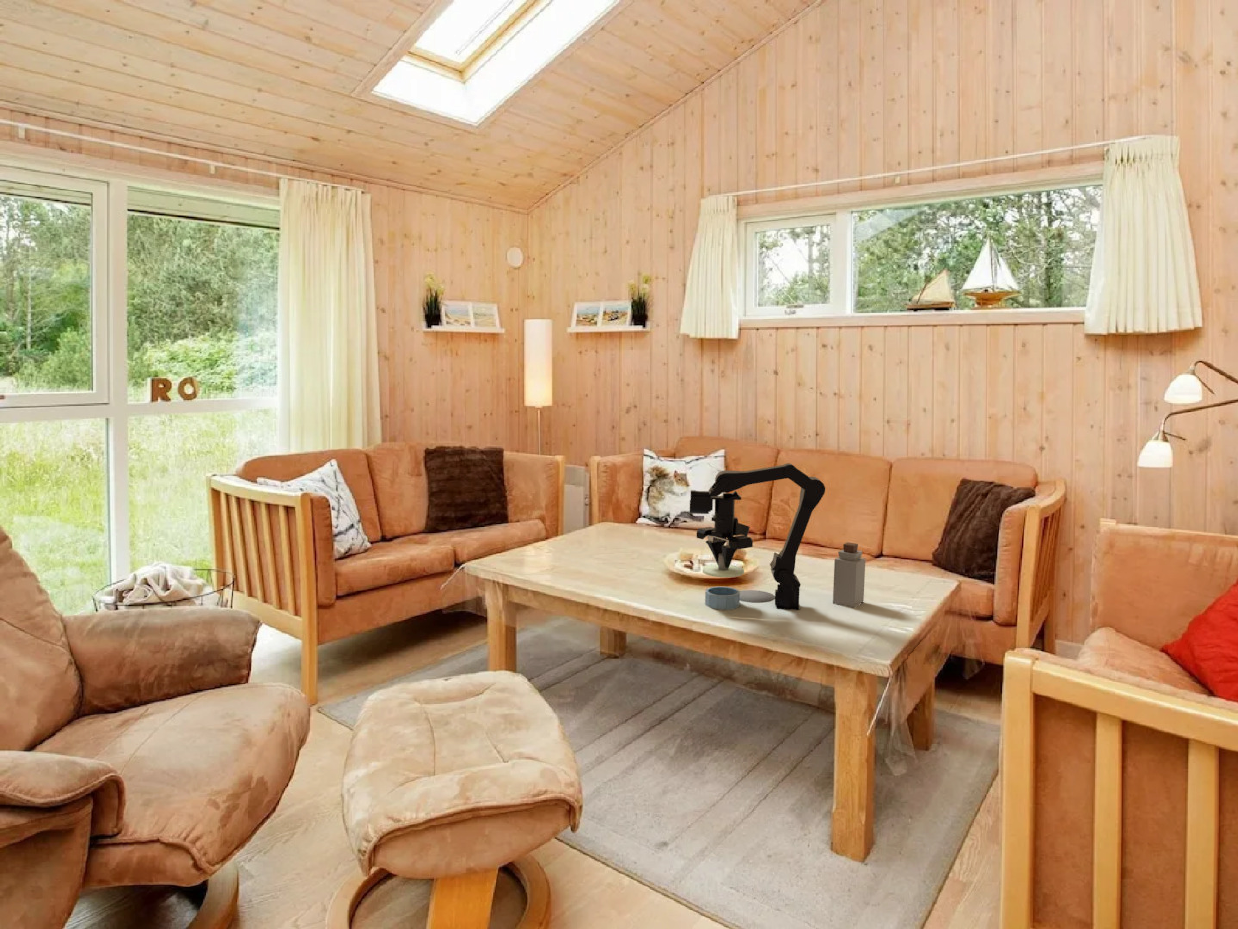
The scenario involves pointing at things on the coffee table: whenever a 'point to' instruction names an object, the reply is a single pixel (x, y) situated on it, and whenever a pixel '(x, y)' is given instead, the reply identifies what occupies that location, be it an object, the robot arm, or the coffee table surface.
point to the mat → (756, 596)
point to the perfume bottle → (849, 576)
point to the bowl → (722, 598)
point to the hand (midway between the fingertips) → (723, 566)
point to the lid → (723, 569)
